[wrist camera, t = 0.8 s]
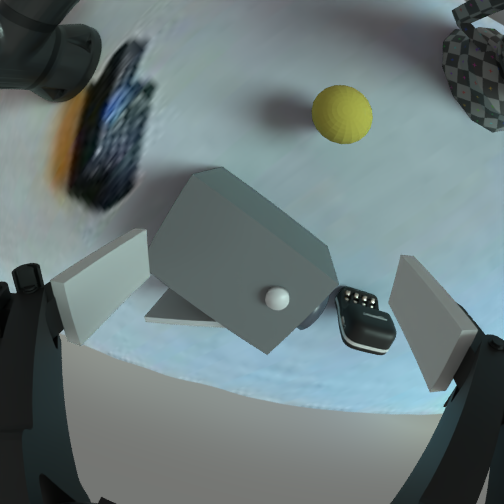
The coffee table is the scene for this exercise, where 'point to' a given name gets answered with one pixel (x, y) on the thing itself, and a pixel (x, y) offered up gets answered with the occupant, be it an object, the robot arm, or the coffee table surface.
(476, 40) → the lantern
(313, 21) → the coffee table surface
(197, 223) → the small grey cabinet
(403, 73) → the coffee table surface
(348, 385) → the coffee table surface
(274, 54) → the coffee table surface
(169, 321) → the cabinet door
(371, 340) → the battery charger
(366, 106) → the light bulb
